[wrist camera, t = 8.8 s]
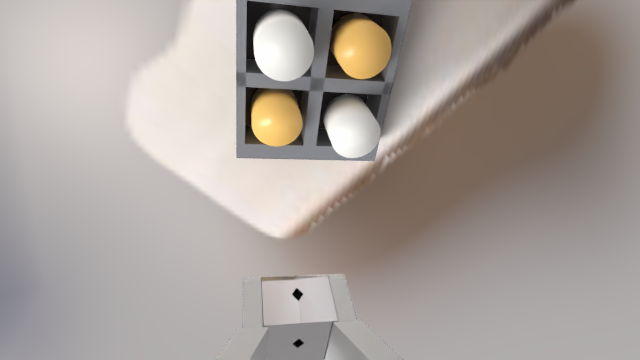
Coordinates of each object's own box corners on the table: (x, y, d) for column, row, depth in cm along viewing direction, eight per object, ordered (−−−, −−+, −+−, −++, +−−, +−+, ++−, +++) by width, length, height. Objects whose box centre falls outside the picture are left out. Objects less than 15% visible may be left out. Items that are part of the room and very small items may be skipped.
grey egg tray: (237, -30, 20) (236, -24, 18) (397, -11, 22) (413, -4, 20) (237, 138, 25) (236, 158, 23) (364, 142, 27) (374, 160, 25)
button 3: (253, 6, 19) (254, 17, 17) (309, 11, 20) (317, 23, 18) (252, 62, 21) (253, 79, 19) (303, 66, 21) (310, 83, 19)
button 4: (332, 10, 21) (343, 21, 19) (381, 15, 22) (397, 26, 19) (326, 62, 23) (334, 77, 20) (371, 65, 23) (384, 80, 21)
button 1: (251, 81, 23) (252, 99, 20) (299, 84, 23) (304, 101, 21) (250, 125, 24) (251, 145, 22) (295, 127, 25) (300, 147, 23)
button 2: (326, 93, 23) (334, 111, 20) (372, 95, 23) (385, 114, 21) (320, 135, 24) (327, 157, 22) (363, 137, 25) (374, 158, 23)
